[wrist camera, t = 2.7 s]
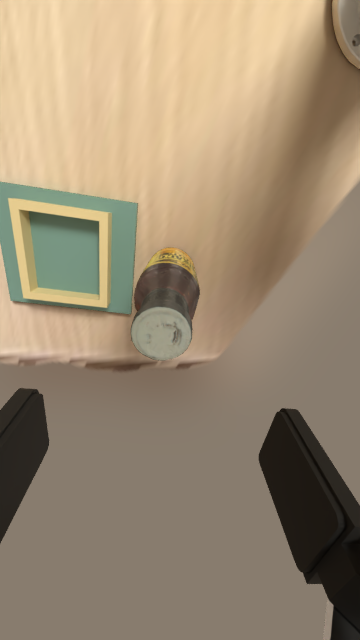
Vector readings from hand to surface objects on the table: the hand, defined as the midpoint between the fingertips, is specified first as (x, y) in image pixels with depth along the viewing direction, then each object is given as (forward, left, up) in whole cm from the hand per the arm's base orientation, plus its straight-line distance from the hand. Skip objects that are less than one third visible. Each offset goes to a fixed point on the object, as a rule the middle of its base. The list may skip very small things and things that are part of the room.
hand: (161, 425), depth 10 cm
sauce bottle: (0, 0, -26) cm, 26 cm away
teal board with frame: (+13, 0, -26) cm, 29 cm away
